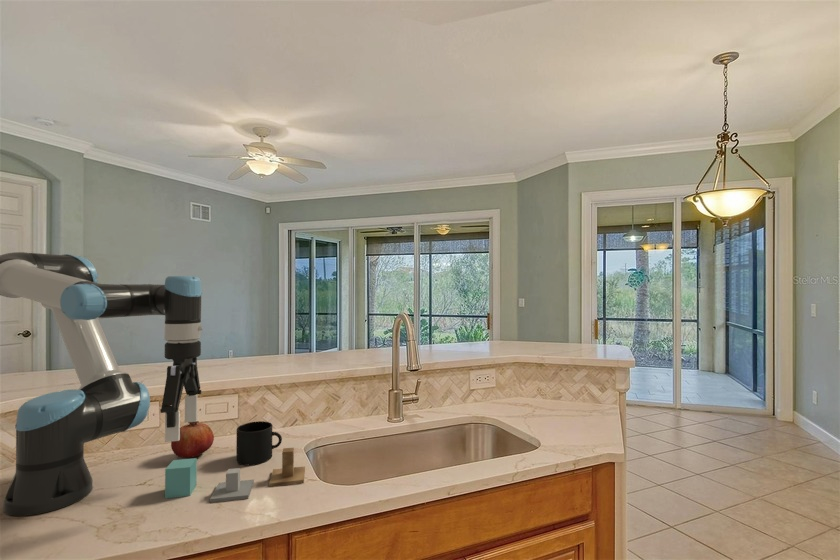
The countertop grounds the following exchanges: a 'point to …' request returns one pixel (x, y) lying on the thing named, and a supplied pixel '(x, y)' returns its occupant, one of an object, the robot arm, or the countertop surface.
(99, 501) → the countertop surface
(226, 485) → the grey post
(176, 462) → the teal rectangular block
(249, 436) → the mug
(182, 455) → the fruit
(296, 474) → the brown base with post
